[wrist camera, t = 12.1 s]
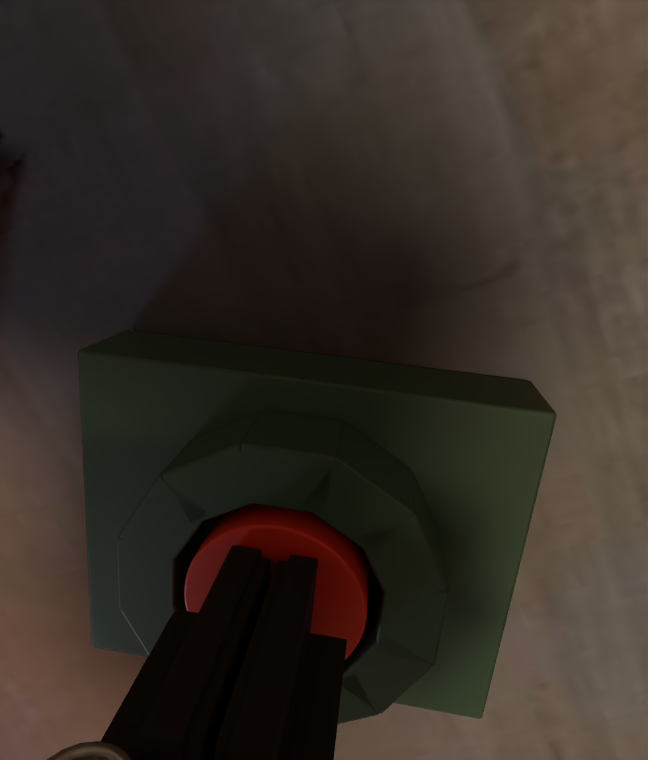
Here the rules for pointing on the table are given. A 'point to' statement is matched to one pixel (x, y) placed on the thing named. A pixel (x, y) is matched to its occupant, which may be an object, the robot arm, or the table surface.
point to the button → (277, 542)
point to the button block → (316, 494)
